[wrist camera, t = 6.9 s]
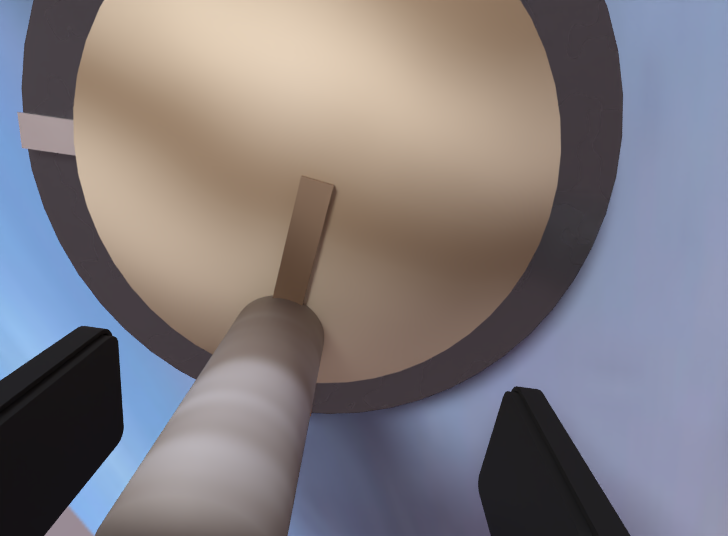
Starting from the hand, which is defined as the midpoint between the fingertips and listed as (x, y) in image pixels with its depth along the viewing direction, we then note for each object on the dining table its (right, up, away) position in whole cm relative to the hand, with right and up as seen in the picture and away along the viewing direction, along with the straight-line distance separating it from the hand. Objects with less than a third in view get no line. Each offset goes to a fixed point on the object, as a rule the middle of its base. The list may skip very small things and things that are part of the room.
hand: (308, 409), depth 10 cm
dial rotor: (0, +6, +3) cm, 7 cm away
